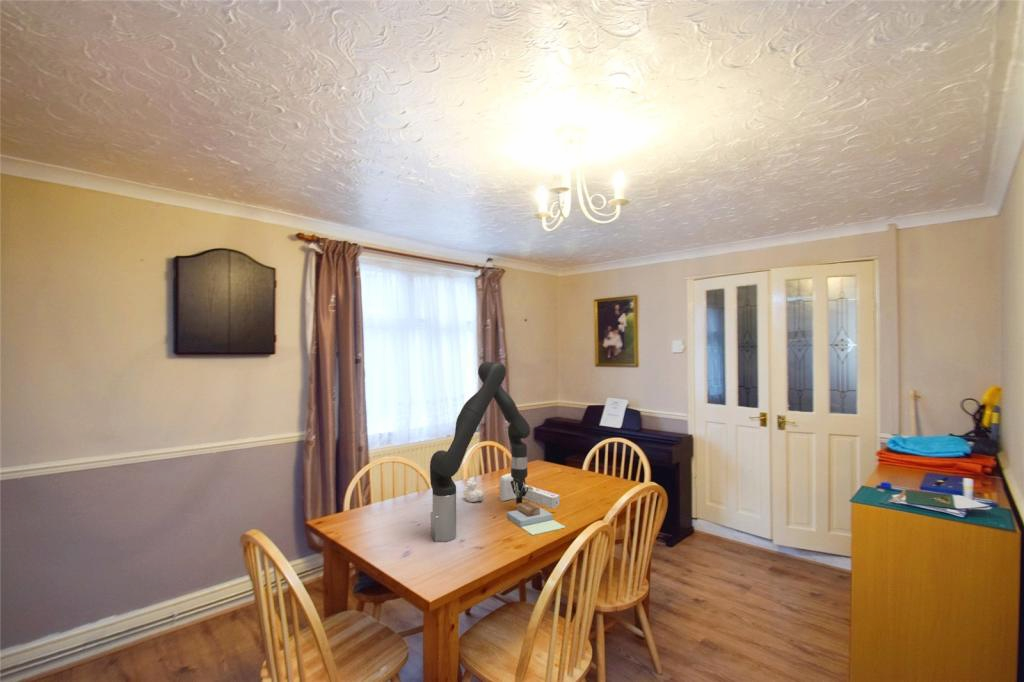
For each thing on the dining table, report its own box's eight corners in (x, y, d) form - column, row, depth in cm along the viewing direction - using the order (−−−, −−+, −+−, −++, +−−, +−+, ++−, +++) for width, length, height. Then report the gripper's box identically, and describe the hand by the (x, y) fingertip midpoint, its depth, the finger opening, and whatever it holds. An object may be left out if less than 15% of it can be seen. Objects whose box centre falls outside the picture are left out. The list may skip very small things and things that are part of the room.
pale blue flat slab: (520, 527, 182) (520, 521, 182) (507, 517, 192) (506, 512, 192) (552, 520, 189) (552, 514, 189) (538, 511, 200) (537, 506, 200)
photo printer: (515, 495, 222) (515, 471, 223) (520, 498, 219) (520, 473, 219) (498, 499, 217) (498, 474, 217) (502, 502, 213) (502, 476, 213)
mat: (532, 535, 173) (532, 534, 173) (521, 527, 181) (521, 526, 181) (565, 527, 181) (565, 527, 181) (553, 520, 189) (553, 519, 189)
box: (560, 506, 207) (560, 494, 207) (553, 509, 204) (552, 496, 204) (519, 493, 227) (519, 482, 227) (512, 495, 223) (512, 484, 224)
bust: (462, 503, 217) (454, 489, 212) (469, 490, 223) (461, 476, 217) (482, 507, 211) (474, 493, 205) (489, 494, 216) (481, 479, 211)
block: (527, 517, 186) (527, 509, 186) (517, 510, 194) (517, 503, 194) (539, 514, 189) (539, 507, 189) (529, 508, 197) (529, 501, 197)
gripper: (505, 464, 203) (505, 502, 203) (519, 470, 192) (519, 510, 191) (519, 462, 207) (519, 499, 206) (533, 468, 195) (534, 507, 195)
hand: (519, 504), depth 199 cm, fingers closed
